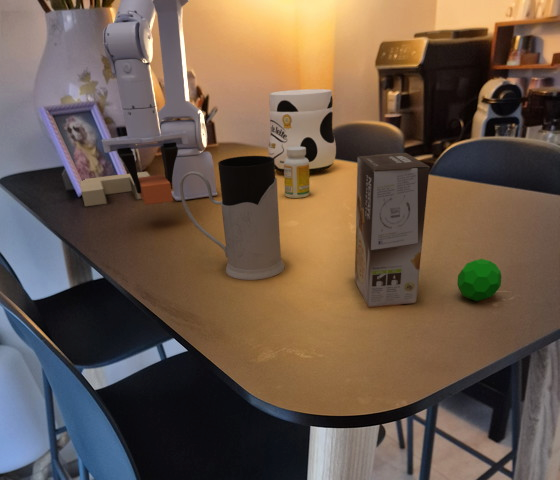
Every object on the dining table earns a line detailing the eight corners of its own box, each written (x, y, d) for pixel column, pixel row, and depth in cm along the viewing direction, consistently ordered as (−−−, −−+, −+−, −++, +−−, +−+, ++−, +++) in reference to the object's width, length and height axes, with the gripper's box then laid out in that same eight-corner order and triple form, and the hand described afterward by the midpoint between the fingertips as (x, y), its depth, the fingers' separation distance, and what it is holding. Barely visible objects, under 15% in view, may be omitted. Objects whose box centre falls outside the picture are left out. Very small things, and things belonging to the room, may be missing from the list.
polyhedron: (504, 305, 62) (512, 267, 59) (464, 308, 61) (470, 270, 59) (487, 288, 66) (493, 252, 63) (449, 291, 66) (454, 255, 63)
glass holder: (278, 280, 72) (272, 167, 64) (182, 278, 74) (164, 169, 66) (288, 258, 79) (284, 154, 71) (200, 257, 81) (186, 156, 73)
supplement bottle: (282, 198, 110) (280, 150, 105) (287, 192, 114) (285, 146, 109) (307, 198, 109) (306, 150, 104) (311, 192, 113) (310, 145, 108)
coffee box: (418, 303, 63) (432, 165, 54) (367, 308, 63) (373, 170, 54) (397, 276, 71) (407, 151, 62) (352, 279, 71) (355, 155, 62)
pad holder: (149, 185, 128) (146, 171, 127) (157, 196, 117) (155, 182, 115) (82, 193, 124) (79, 179, 122) (85, 206, 113) (81, 191, 111)
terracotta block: (165, 191, 99) (162, 174, 97) (173, 201, 92) (170, 182, 91) (139, 195, 97) (136, 177, 96) (145, 205, 91) (141, 186, 89)
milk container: (256, 174, 132) (250, 95, 123) (293, 161, 144) (290, 88, 134) (313, 180, 124) (312, 95, 114) (347, 166, 135) (349, 88, 126)
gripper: (96, 113, 82) (115, 200, 89) (186, 105, 86) (197, 189, 93) (94, 109, 87) (112, 191, 95) (178, 102, 91) (189, 181, 99)
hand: (154, 190), depth 94 cm, fingers closed on terracotta block, 5 cm apart
